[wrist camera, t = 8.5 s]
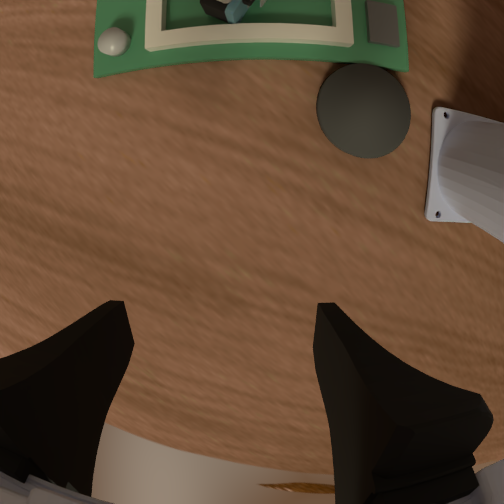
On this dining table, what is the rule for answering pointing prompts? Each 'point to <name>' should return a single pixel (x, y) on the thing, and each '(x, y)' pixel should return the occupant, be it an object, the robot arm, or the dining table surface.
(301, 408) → the dining table surface
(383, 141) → the dark gray round disc
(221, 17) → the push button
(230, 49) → the circuit board
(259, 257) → the dining table surface
